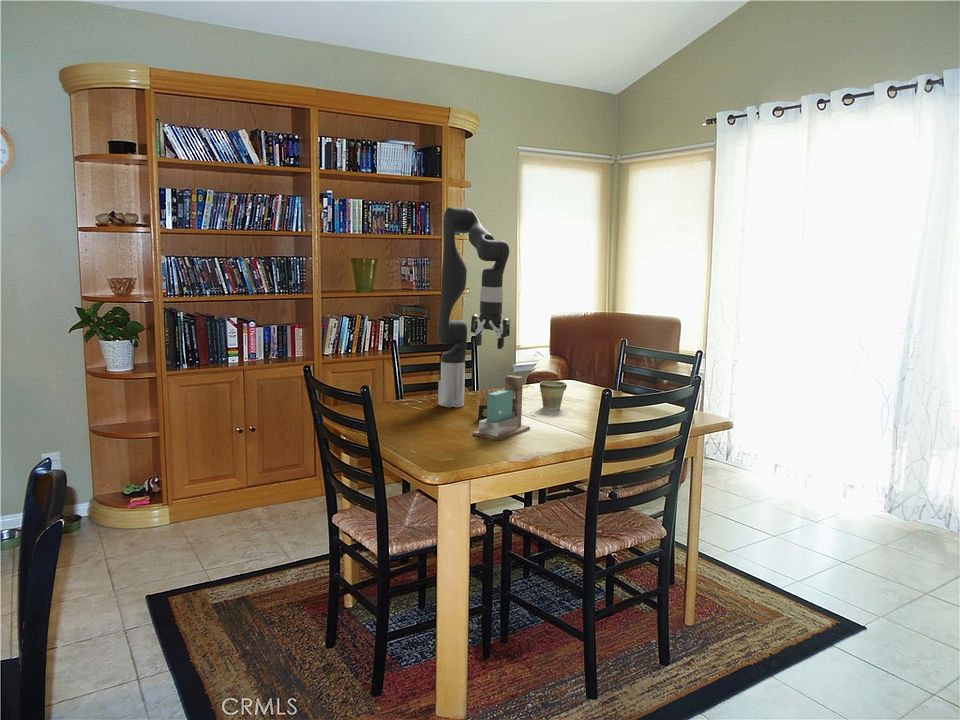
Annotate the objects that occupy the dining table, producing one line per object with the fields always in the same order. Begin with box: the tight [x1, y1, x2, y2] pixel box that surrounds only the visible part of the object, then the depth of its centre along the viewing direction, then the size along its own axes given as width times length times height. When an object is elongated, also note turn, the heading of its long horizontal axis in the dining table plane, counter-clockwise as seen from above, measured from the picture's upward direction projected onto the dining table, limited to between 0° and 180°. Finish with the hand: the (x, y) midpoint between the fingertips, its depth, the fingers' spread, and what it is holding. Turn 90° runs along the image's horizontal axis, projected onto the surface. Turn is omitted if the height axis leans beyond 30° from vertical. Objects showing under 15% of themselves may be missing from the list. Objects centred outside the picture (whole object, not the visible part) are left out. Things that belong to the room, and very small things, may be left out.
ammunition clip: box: [477, 385, 503, 420], centre depth 263 cm, size 11×2×12 cm, turn 71°
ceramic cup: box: [539, 380, 567, 411], centre depth 285 cm, size 13×10×10 cm
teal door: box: [487, 388, 513, 423], centre depth 244 cm, size 4×11×13 cm, turn 147°
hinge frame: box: [471, 375, 531, 442], centre depth 245 cm, size 11×19×18 cm, turn 147°
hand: (489, 347), depth 251 cm, fingers open, 8 cm apart
